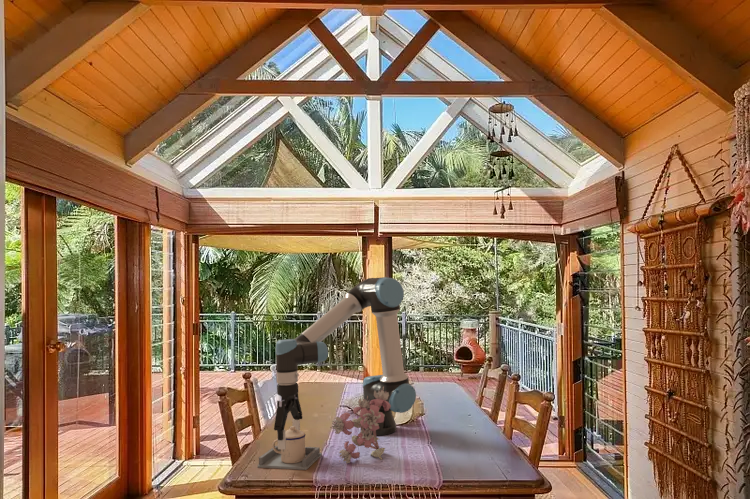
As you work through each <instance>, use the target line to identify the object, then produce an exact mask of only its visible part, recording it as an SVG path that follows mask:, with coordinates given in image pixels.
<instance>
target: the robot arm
mask: <svg viewBox="0 0 750 499" xmlns="http://www.w3.org/2000/svg"><path fill="white" fill-rule="evenodd" d="M404 296H405V293H404V288H403V285H402V284H401V282H400V281H398V280H397V279H395V278H394V277H393V278H392V277H387V276H384V277H369V278H366V279H363V280H362V281H360V282H359V283H357V284H356V285H355V286H353V287H352V288H351V289H350V290H348V291H347V292H346V293H345V294H344V298H343V299H342V300H340V301H339V302H338V303H336V304H335V305H334V306H333V307H332V308H331V309H330V310H328V311H327V312H326V313H325V314H323V315H321V317H320V318H318V319H317V320H316V321H315V322H313V323H312V324H311V325H310V326H309V327H308V328H306V329H305V330H304V331H303V332H301V333H300V334H299V335H298V336H296V337H295V338H287V339H279V340H277V341H276V342H275V343H276V344H275V360H276V361H275V362H276V363H275V364H276V366H275V367H276V384H277V385H276V393H277V395H278V396H280V397H281V398H280V400H277V402H276V404H277V405H276V412H275V420H274V425H273V426H274V427H273V430H274V431H277V432H276V433H277V434H276V437H277V438H276V439H278V441H277V446H278V449H286V435H285V432H286V429H285V427H286V422H287V419H288V415H289V413H290V414H291V416H292V421H291V422H292V424H291V426H295V429H298V430H300V431H301V420H303V412H302V408H301V403H300V399H299V383H298V381H299V379H298V378H299V373H298V370H299V368H298V367H299V366H303V365H309V364H315V363H317V364H319V363H323V362H325V361H326V360H327V358H328V356H329V350H328V346H327V344H326V343H325V342H324V340H325V339H326V338H327V337H328V336H330V335H331V334H332V333H333V332H334V331H336V329H338V328H339V327H340V326H342V324H344V323H345V322H346V321H347V320H349V319H350V318H351V317H352V316H353V315H354V314H356V313H360V312H362V311H363V310H364V309H365V308H366V309H367V308H369V307H370V310H371V311H370V312H371V314H373V315H374V316H375V320H376V328H377V336H378V337H377V338H378V345H379V353H380V360H381V370H382V374H377V375H369V376H366V377H365V376H364V378H363V382H362V388H363V389H362V390H363V399H364V400H367V402H368V401H369V402H370V401H371V400H374V399H376V398H375V397H374V391H376V393H377V392H379V391H380V392H381V390H383V387H384V390H383V391H384V392H385V391H386V392H388V393H389V396H388V399H387V400H385V401H387V402H389V404H390V405H391V408H390V409H389V410H388V411H385V410H384V407H383V405H382V406H381V407H380V409H379V412H382V413H383V414H385V417H384V421H383V422H382V423H377V424H379V429H377V430H376V436H385V435H390V434H393V433H395V432H396V431H397V424H396V420H395V417H394V415H393V413H399V414H403V413H406V412H409V411H410V410H411V409H412V408H413V406H414V404H415V403H416V399H417V392H416V389H415V387H413V385H412V384H410V380H409V375H408V374H407V373H406V372H405V370H404V369H405V368H404V362H403V360H404V359H403V353H402V352H403V351H402V345H401V344H402V343H401V337H400V329H399V320H398V313H399V311H400V310H401V306H400V305H401V304H402V302H403V300H404ZM367 396H368V398H367ZM369 402H368V403H369ZM373 404H374V403H373ZM373 404H372V405H373ZM369 409H370V408H368V410H369ZM368 428H369V427H368ZM361 430H362V429H361V428H360V431H361ZM364 430H365V431H366V429H365V428H364ZM369 430H370V429H368V431H369ZM371 435H373V431H372V434H371ZM373 436H374V435H373Z"/></svg>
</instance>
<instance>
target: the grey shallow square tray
mask: <svg viewBox="0 0 750 499" xmlns="http://www.w3.org/2000/svg"><path fill="white" fill-rule="evenodd" d="M275 448H276V449H277V450H278V451H281V449H278V445H275ZM320 451H321V450H320V446H319V447H318V446H317V447H314V446H305V454H306V457H305V458H304V459H303V460H302V462H299V463H284V462H282V461H281V454H279V453H276V452H275V451H274V450H273V447H272V448H270V449H268V450H267V451H266V452H265V453H263V454H262V455H261V456H259V457H258V464H257V468H261V469H279V470H280V469H281V470H282V469H284V470H303V471H306V470H308V469H309V468H310V467H311V466H312V465H313V464H314V463H315V462H316V461H317V460H319V459H320V458H321V457H322V455H323V454H322V453H323V452H320Z"/></svg>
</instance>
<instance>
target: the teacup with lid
mask: <svg viewBox="0 0 750 499" xmlns="http://www.w3.org/2000/svg"><path fill="white" fill-rule="evenodd" d="M285 435H286V449H281V451H278V450H277V449H276V448H275V446H276V445H275V443H278V439H277V438H276V439H275V440H273V441H272V443H271V447H272V448H273V450H274V451H275V452H276V453H279V454H281V461H282V462H284V463H299V462H302V460H303V459H304V458H305V457H306V454H305V447H306V432H305V431H304V430H301V429H300V430H298V429H295V426H292V425H291V426H289V429H287V430H285Z"/></svg>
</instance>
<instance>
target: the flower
mask: <svg viewBox="0 0 750 499" xmlns="http://www.w3.org/2000/svg"><path fill="white" fill-rule="evenodd" d="M383 390H384V387H383ZM383 390H381V392H380V391H379V392H377V393H376V391H374V397H375V398H376V399H374V400H371V401H370V402H369V401H368V402H369V403H368V402H367V400H364V398H359V399H358V401H357V403H358V406H356V407H354V408H353V409H352V412H353V414H354V415H356V414H357V413H359V417H358V418H356V417H355V418H353V419H352V420H348V419H349V417H351V414H350V413H349V412H343V413H341V415H339V416H335V418H334V419H335V420H332V421H331V422H332V425H331V426H330V427H329V428H331V429H333V432H334V433H335V434H337V435H339V434H340V433H343V434H344V435H347V436H351V435H352V434H353V431H349V430H352V429H353V428H356V429H360V432H359V433H358V435H355V434H354V435H352V436H351V442H352V443H350V441H348V440H347V441H345V442H344V444H343V446H344V449H341V450H339V452H338V454H340V455H339V457H340V458H339V459H340V461H341V460H343V462H345V463H346V464H350V463H351V459H356V460H357V459H359V458H360V456H361V453H360V451H359V452H358V451H357V452H355V450H356V448H357V447H363V446H364V448H366V449H369V448H370V449H374V450H372V451H371V453H370V457H372V456H373V457H374V458H379V459H380V460H381V461H383V457H382V455H383V454H384V453H385V449H386V448H385V447H381V448H380V444H379V442H378V440H380V438H379V437H377V435H376V430H377V429H379V424H377V423H382V422H383V421H384V417H385V414H383V413H382V412H379V409H380V407H381V406H382V405H383V407H384V410H385V411H388V410H389V409H390V408H391V405H390V404H389V402H387V401H385V400H387V399H388V396H389V393H388V392H386V391H385V392H384V391H383ZM367 398H368V396H367ZM373 403H374V404H373ZM372 404H373V405H372ZM368 408H370V409H369V410H368ZM368 427H369V428H368ZM364 428H365V429H366V431H365V430H364ZM361 429H362V430H361ZM368 429H370V430H369V431H368ZM372 431H373V435H371V434H372Z"/></svg>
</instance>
